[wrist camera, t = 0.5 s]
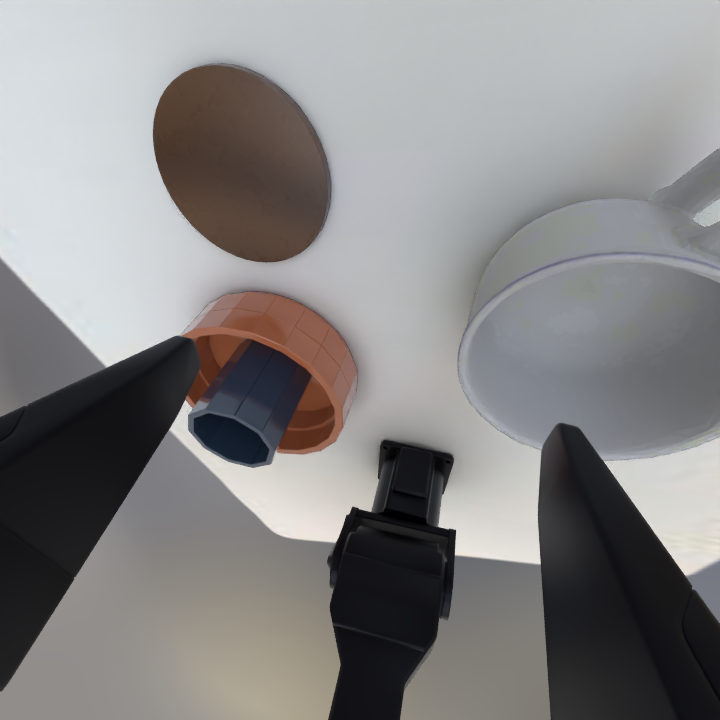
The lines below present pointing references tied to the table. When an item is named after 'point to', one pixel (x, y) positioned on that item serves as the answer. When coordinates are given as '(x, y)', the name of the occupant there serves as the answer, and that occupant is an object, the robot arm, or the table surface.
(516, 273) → the teacup
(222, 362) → the bowl
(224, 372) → the cup
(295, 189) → the coaster
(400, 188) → the table surface
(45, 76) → the table surface
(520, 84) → the table surface
